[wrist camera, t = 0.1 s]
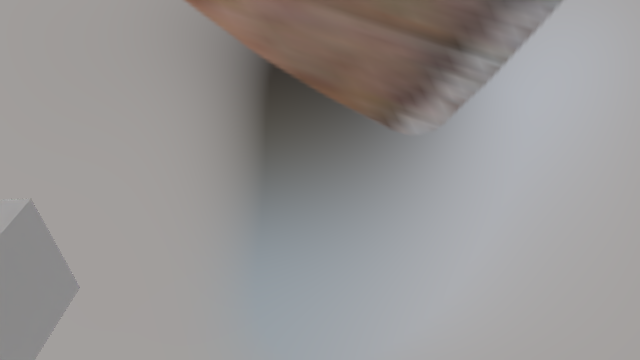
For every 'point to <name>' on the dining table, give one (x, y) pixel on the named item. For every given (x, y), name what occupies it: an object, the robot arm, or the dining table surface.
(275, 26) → the dining table surface
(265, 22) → the dining table surface
